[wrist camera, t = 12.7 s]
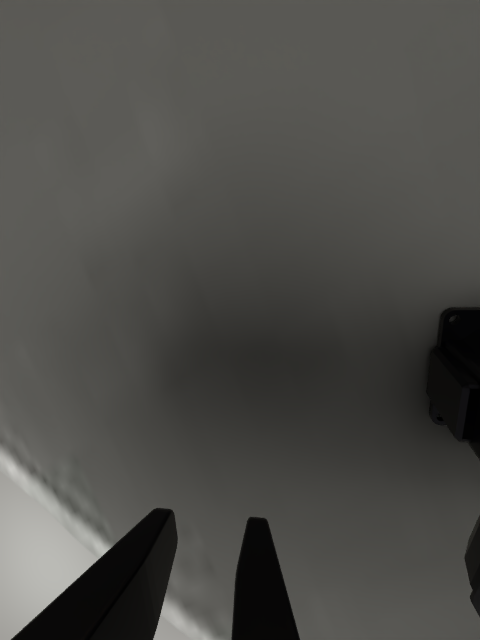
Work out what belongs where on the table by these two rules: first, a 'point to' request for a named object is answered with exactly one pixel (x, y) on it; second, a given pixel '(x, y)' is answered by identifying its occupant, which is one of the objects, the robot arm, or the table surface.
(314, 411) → the table surface
